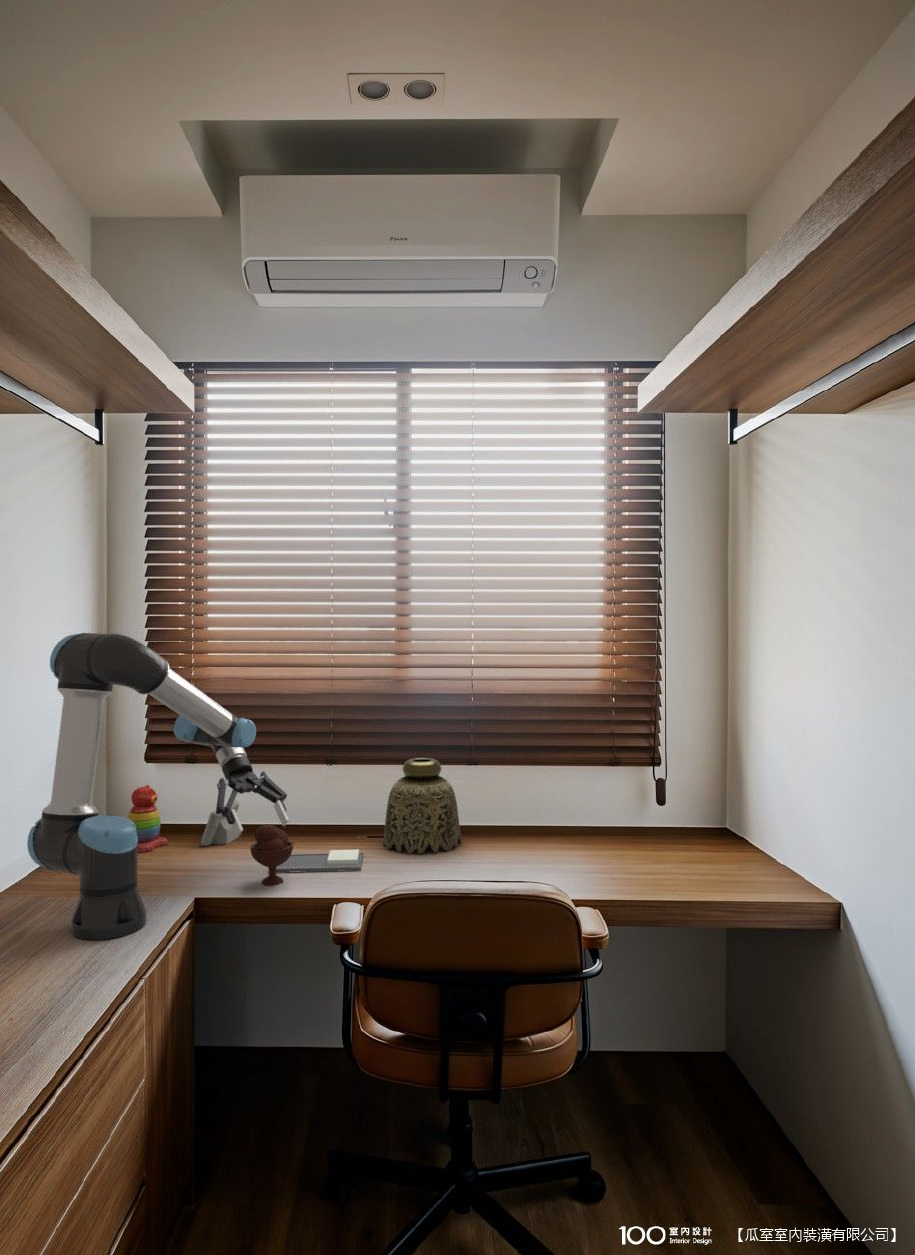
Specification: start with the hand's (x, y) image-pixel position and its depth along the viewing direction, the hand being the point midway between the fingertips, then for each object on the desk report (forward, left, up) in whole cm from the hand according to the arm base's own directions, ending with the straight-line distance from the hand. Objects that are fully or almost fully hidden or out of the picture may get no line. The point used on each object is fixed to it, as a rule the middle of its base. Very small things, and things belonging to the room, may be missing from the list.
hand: (263, 828), depth 211 cm
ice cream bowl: (+3, -6, -13) cm, 14 cm away
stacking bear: (-40, +29, -13) cm, 51 cm away
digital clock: (-19, +35, -13) cm, 41 cm away
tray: (+13, +8, -12) cm, 20 cm away
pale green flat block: (+20, +8, -12) cm, 25 cm away
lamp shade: (+42, +26, -13) cm, 51 cm away
